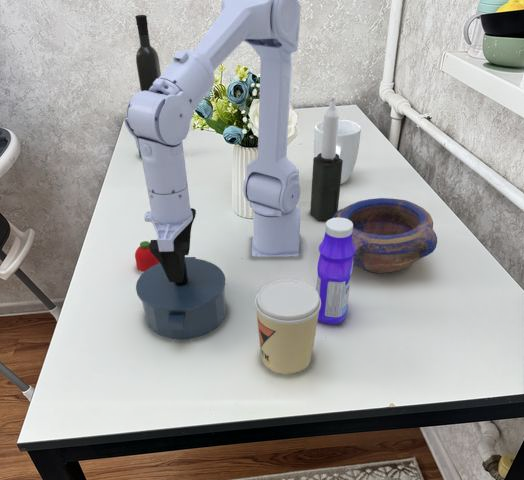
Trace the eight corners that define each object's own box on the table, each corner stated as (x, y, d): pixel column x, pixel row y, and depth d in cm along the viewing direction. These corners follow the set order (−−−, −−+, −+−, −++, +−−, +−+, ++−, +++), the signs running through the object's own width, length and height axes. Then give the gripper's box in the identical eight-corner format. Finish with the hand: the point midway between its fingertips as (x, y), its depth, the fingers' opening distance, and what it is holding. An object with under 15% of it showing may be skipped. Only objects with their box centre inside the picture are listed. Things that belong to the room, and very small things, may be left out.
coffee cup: (254, 340, 80) (252, 279, 72) (310, 336, 81) (315, 275, 72) (258, 381, 73) (257, 319, 65) (320, 377, 74) (327, 315, 66)
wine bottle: (151, 126, 156) (133, 13, 136) (169, 127, 155) (153, 13, 135) (146, 133, 152) (127, 17, 131) (164, 133, 151) (148, 17, 131)
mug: (356, 197, 118) (363, 141, 109) (310, 195, 119) (313, 140, 110) (354, 171, 129) (360, 119, 120) (312, 170, 130) (315, 118, 121)
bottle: (345, 329, 82) (357, 236, 70) (311, 325, 83) (318, 233, 71) (348, 303, 87) (360, 213, 75) (316, 300, 88) (323, 210, 76)
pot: (228, 283, 92) (226, 253, 88) (222, 352, 78) (219, 320, 74) (156, 283, 92) (150, 253, 88) (137, 352, 78) (129, 321, 74)
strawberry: (162, 261, 98) (158, 237, 94) (159, 274, 95) (154, 249, 91) (140, 261, 98) (135, 237, 94) (135, 274, 95) (130, 250, 91)
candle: (320, 222, 109) (329, 101, 92) (308, 213, 112) (314, 94, 95) (339, 217, 110) (351, 97, 94) (326, 208, 114) (336, 90, 97)
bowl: (327, 238, 104) (331, 193, 97) (411, 237, 104) (421, 192, 97) (337, 287, 91) (343, 239, 84) (434, 286, 91) (447, 238, 84)
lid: (228, 263, 86) (226, 234, 83) (222, 314, 76) (220, 284, 72) (145, 263, 87) (140, 235, 83) (128, 315, 76) (121, 285, 72)
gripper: (148, 165, 75) (161, 243, 84) (128, 209, 64) (146, 294, 73) (194, 164, 75) (202, 243, 84) (182, 209, 64) (193, 293, 73)
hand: (179, 267), depth 79 cm, fingers open, 7 cm apart
